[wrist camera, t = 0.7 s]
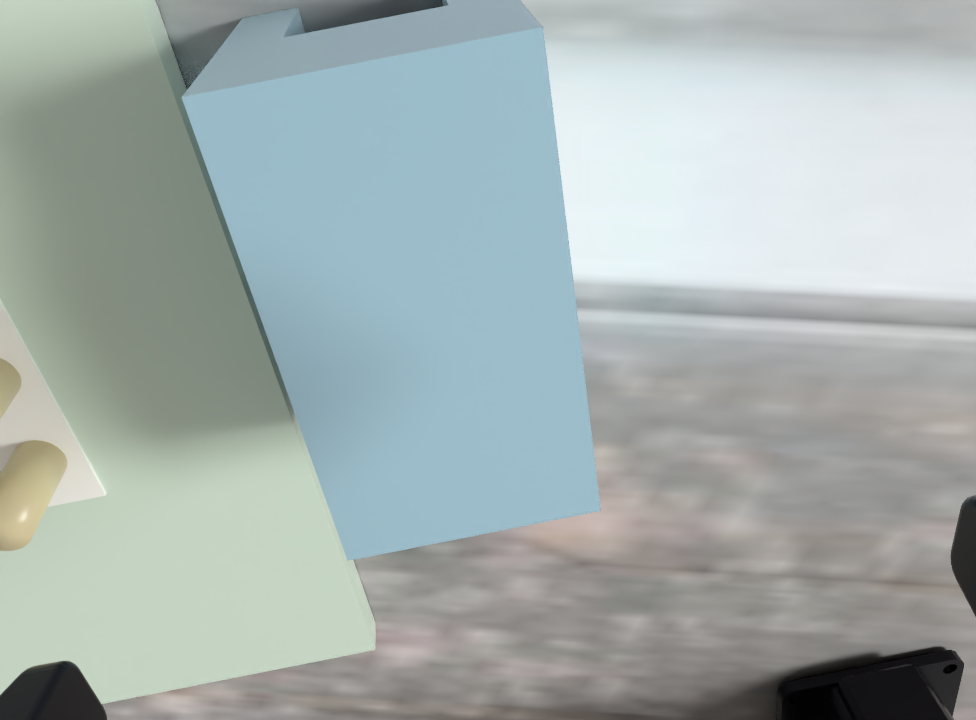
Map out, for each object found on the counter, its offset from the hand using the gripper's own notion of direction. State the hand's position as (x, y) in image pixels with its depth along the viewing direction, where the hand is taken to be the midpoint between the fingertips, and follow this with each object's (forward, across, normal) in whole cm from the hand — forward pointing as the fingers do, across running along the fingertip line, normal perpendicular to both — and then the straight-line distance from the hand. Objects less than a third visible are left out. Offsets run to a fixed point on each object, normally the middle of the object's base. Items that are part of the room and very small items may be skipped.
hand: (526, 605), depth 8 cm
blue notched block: (+12, +1, 0) cm, 12 cm away
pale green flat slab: (+12, +11, +4) cm, 16 cm away
